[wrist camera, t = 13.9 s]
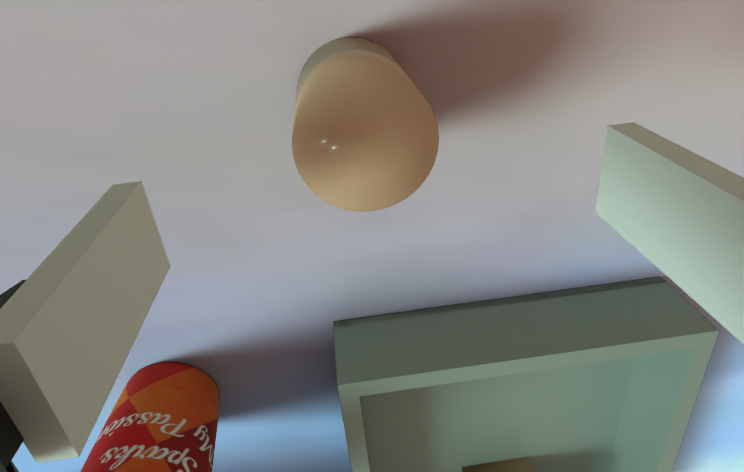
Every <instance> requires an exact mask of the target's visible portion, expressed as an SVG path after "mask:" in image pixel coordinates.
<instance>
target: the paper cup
mask: <svg viewBox="0 0 744 472" xmlns="http://www.w3.org/2000/svg"><path fill="white" fill-rule="evenodd" d="M219 400H220V397H219V390H218V387H217V385H216V383H215V382H214V380H213V379H212V378H211V377H210V376H209V375H208V374H206V373H205V372H204V371H202V370H200V369H198V368H196V367H194V366H191V365H188V364H184V363H178V362H162V363H156V364H152V365H149V366H146V367H144V368H142V369H141V370H139V371H138V372H136V373H135V374H134V375H133V376H132V378H131V379H130V380H129V382H128V383H127V385H126V387H125V388H124V390H123V392H122V394H121V395H120V397H119V399H118V401H117V403H116V405H115V407H114V408H113V410H112V412H111V414H110V416H109V418H108V420H107V422H106V424H105V426H104V427H103V429H102V431H101V433H100V435H99V437H98V439H97V441H96V443H95V445H94V447H93V449H92V451H91V452H90V454H89V456H88V458H87V460H86V462H85V464H84V466H83V468H82V470H81V472H212V465H213V457H214V449H215V440H216V432H217V423H218V413H219Z"/></svg>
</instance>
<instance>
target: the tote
mask: <svg viewBox="0 0 744 472" xmlns="http://www.w3.org/2000/svg"><path fill="white" fill-rule="evenodd" d="M718 333H719V330H718V329H717V328H716V327H715V326H714V325H713V324H711V323H710V322H709V321H708V320H707V319H706V318H705V317H704V316H703V315H702V314H701V313H700V312H699V311H697V310H696V309H695V308H694V307H693V306H692V305H691V304H690V303H689V302H688V301H687V300H686V299H685V298H683V297H682V296H681V295H680V294H679V293H678V292H677V291H676V290H675V289H674V288H673V287H672V286H671V285H669V284H668V283H667V282H666V281H665V280H664V279H663V278H662V277H656V278H648V279H641V280H634V281H626V282H619V283H612V284H604V285H597V286H590V287H583V288H575V289H568V290H561V291H553V292H546V293H539V294H532V295H524V296H517V297H510V298H502V299H495V300H488V301H480V302H473V303H466V304H459V305H451V306H444V307H437V308H429V309H422V310H415V311H408V312H400V313H393V314H386V315H378V316H371V317H364V318H356V319H349V320H342V321H335V322H334V339H335V355H336V372H337V386H338V392H339V398H340V404H341V410H342V416H343V422H344V427H345V433H346V439H347V445H348V451H349V457H350V462H351V468H352V472H462V467H464V466H470V465H477V464H483V463H490V462H496V461H503V460H509V459H516V458H522V457H529V458H530V461H531V463H532V465H533V468H534V470H535V472H672V469H673V466H674V463H675V460H676V457H677V454H678V451H679V448H680V445H681V442H682V439H683V436H684V433H685V430H686V427H687V424H688V422H689V419H690V416H691V413H692V410H693V407H694V404H695V401H696V398H697V395H698V392H699V389H700V386H701V383H702V380H703V377H704V374H705V371H706V368H707V365H708V362H709V359H710V356H711V353H712V350H713V347H714V344H715V341H716V339H717V336H718Z"/></svg>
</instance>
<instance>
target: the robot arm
mask: <svg viewBox="0 0 744 472" xmlns="http://www.w3.org/2000/svg"><path fill="white" fill-rule="evenodd" d="M596 213H597V214H598V215H599V216H600V217H602V218H603V219H604V220H605V221H606V222H607V223H608V224H609V225H611V226H612V227H613V228H614V229H615V230H616V231H617V232H618V233H619V234H621V235H622V236H623V237H624V238H625V239H626V240H627V241H628V242H630V243H631V244H632V245H633V246H634V247H635V248H636V249H637V250H639V251H640V252H641V253H642V254H643V255H644V256H645V257H646V258H647V259H649V260H650V261H651V262H652V263H653V264H654V265H655V266H656V267H658V268H659V269H660V270H661V271H662V272H663V273H664V274H665V275H667V276H668V277H669V278H670V279H671V280H672V281H673V282H674V283H675V284H677V285H678V286H679V287H680V288H681V289H682V290H683V291H684V292H686V293H687V294H688V295H689V296H690V297H691V298H692V299H693V300H695V301H696V302H697V303H698V304H699V305H700V306H701V307H702V308H703V309H705V310H706V311H707V312H708V313H709V314H710V315H711V316H712V317H714V318H715V319H716V320H717V321H718V322H719V323H720V324H721V325H723V326H724V327H725V328H726V329H727V330H728V331H729V332H730V333H732V334H733V335H734V336H735V337H736V338H737V339H738V340H739V341H740V342H742V343H743V344H744V178H743V177H741V176H739V175H737V174H735V173H733V172H731V171H729V170H727V169H725V168H723V167H721V166H719V165H717V164H715V163H713V162H711V161H709V160H707V159H705V158H703V157H702V156H700V155H698V154H696V153H694V152H692V151H690V150H688V149H686V148H684V147H682V146H680V145H678V144H676V143H674V142H672V141H670V140H668V139H666V138H664V137H662V136H660V135H658V134H656V133H654V132H652V131H650V130H648V129H646V128H644V127H642V126H640V125H638V124H636V123H634V122H633V123H625V124H616V125H608V128H607V135H606V142H605V149H604V156H603V163H602V170H601V177H600V184H599V191H598V198H597V205H596ZM169 268H170V264H169V261H168V258H167V255H166V252H165V249H164V246H163V243H162V240H161V237H160V234H159V232H158V229H157V226H156V223H155V220H154V217H153V214H152V211H151V208H150V205H149V202H148V199H147V196H146V193H145V190H144V187H143V184H142V181H140V182H131V183H123V184H115V185H112V186H111V188H110V189H109V190H108V191H107V192H106V193H105V194H104V195H103V196H102V197H101V199H100V200H99V201H98V202H97V203H96V204H95V205H94V206H93V207H92V208H91V210H90V211H89V212H88V213H87V214H86V215H85V216H84V217H83V218H82V219H81V221H80V222H79V223H78V224H77V225H76V226H75V227H74V228H73V229H72V230H71V232H70V233H69V234H68V235H67V236H66V237H65V238H64V239H63V240H62V241H61V243H60V244H59V245H58V246H57V247H56V248H55V249H54V250H53V251H52V253H51V254H50V255H49V256H48V257H47V258H46V259H45V260H44V261H43V262H42V264H41V265H40V266H39V267H38V268H37V269H36V270H35V271H34V272H33V273H32V275H31V276H30V277H29V278H28V279H27V280H22V281H21V282H19V283H18V284H16V285H15V286H13V287H12V288H10V289H9V290H7V291H6V292H4V293H3V294H1V295H0V472H19V471H18V470H17V468H16V467H15V465H14V464H13V462H12V461H11V460H12V458H13V457H14V455H15V453H16V452H17V450H18V449H19V447H20V445H21V444H22V442H24V444H25V445H26V447H27V448H28V450H29V452H30V453H31V455H32V456H33V458H34V459H35V461H36V463H40V462H47V461H54V460H61V459H68V458H75V457H79V456H80V454H81V452H82V450H83V448H84V446H85V444H86V442H87V439H88V437H89V435H90V433H91V431H92V429H93V427H94V425H95V423H96V421H97V418H98V416H99V414H100V412H101V410H102V408H103V406H104V404H105V402H106V400H107V398H108V395H109V393H110V391H111V389H112V387H113V385H114V383H115V381H116V379H117V377H118V374H119V372H120V370H121V368H122V366H123V364H124V362H125V360H126V358H127V356H128V354H129V351H130V349H131V347H132V345H133V343H134V341H135V339H136V337H137V335H138V333H139V330H140V328H141V326H142V324H143V322H144V320H145V318H146V316H147V314H148V312H149V309H150V307H151V305H152V303H153V301H154V299H155V297H156V295H157V293H158V291H159V289H160V286H161V284H162V282H163V280H164V278H165V276H166V274H167V272H168V270H169Z"/></svg>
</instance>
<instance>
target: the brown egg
mask: <svg viewBox="0 0 744 472" xmlns="http://www.w3.org/2000/svg"><path fill="white" fill-rule="evenodd" d="M438 142H439V135H438V126H437V122H436V118H435V115H434V113H433V110H432V108H431V107H430V105H429V103H428V101H427V100H426V99H425V97H424V96H423V95H422V93H421V92H420V91H419V89H418V88H417V87H416V86H415V84H414V83H413V82H412V81H411V79H410V78H409V77H408V75H407V74H406V73H405V72H404V70H403V69H402V68H401V66H400V65H399V64H398V63H397V61H396V60H395V59H394V57H393V56H392V55H391V54H390V53H389V52H388V51H387V50H386V49H384V48H383V47H382V46H380V45H378V44H377V43H375V42H373V41H370V40H367V39H363V38H357V37H345V38H340V39H336V40H333V41H330V42H328V43H326V44H324V45H323V46H321V47H320V48H318V49H317V50H316V51H315V52H314V53H313V54H312V55H311V56H310V57H309V59H308V60H307V61H306V63H305V65H304V66H303V69H302V71H301V73H300V76H299V80H298V86H297V95H296V105H295V116H294V126H293V136H292V148H293V156H294V160H295V164H296V166H297V169H298V171H299V173H300V175H301V177H302V179H303V180H304V182H305V183H306V184H307V186H308V187H309V188H310V189H311V190H312V191H313V192H314V193H315V194H316V195H318V196H319V197H320V198H321V199H323V200H325V201H326V202H328V203H330V204H332V205H334V206H337V207H339V208H343V209H346V210H352V211H375V210H380V209H384V208H387V207H390V206H393V205H395V204H397V203H399V202H401V201H402V200H404V199H406V198H407V197H408V196H410V195H411V194H412V193H414V192H415V191H416V190H417V189H418V188H419V187H420V186H421V184H422V183H423V182H424V181H425V179H426V178H427V176H428V175H429V173H430V171H431V169H432V167H433V165H434V162H435V159H436V156H437V151H438Z"/></svg>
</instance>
